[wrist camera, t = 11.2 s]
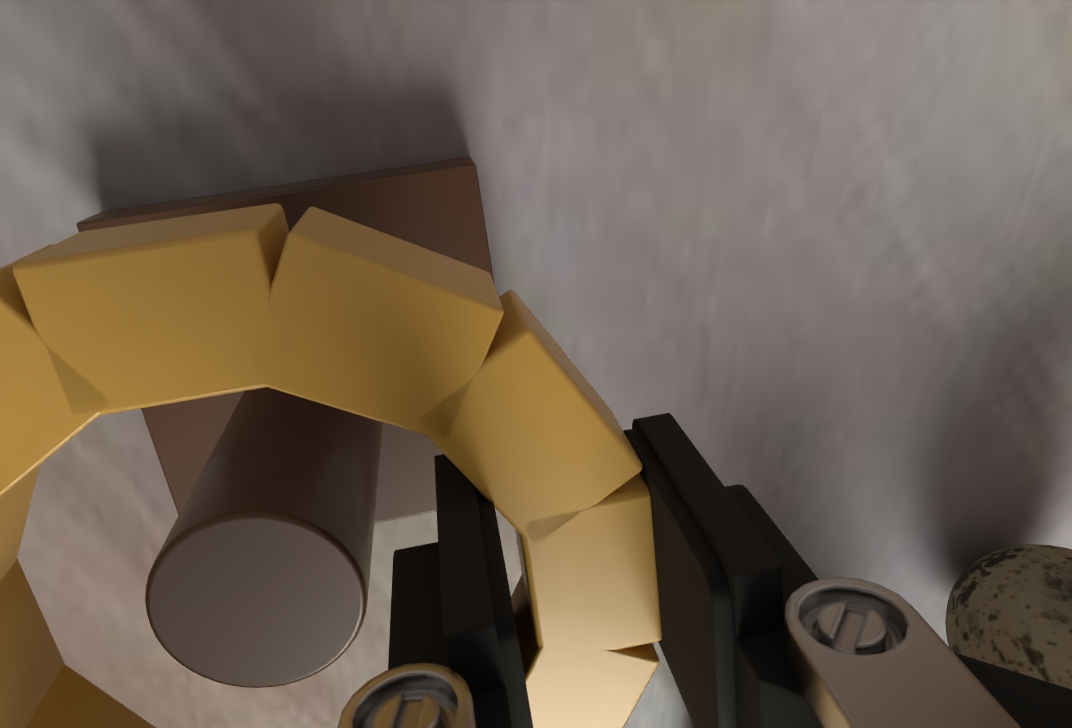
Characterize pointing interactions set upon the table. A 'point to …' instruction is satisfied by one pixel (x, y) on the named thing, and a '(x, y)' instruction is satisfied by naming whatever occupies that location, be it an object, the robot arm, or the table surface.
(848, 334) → the table surface
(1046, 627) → the decorative egg
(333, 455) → the stand
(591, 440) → the ring
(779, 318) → the table surface
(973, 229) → the table surface
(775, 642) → the robot arm
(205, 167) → the table surface
